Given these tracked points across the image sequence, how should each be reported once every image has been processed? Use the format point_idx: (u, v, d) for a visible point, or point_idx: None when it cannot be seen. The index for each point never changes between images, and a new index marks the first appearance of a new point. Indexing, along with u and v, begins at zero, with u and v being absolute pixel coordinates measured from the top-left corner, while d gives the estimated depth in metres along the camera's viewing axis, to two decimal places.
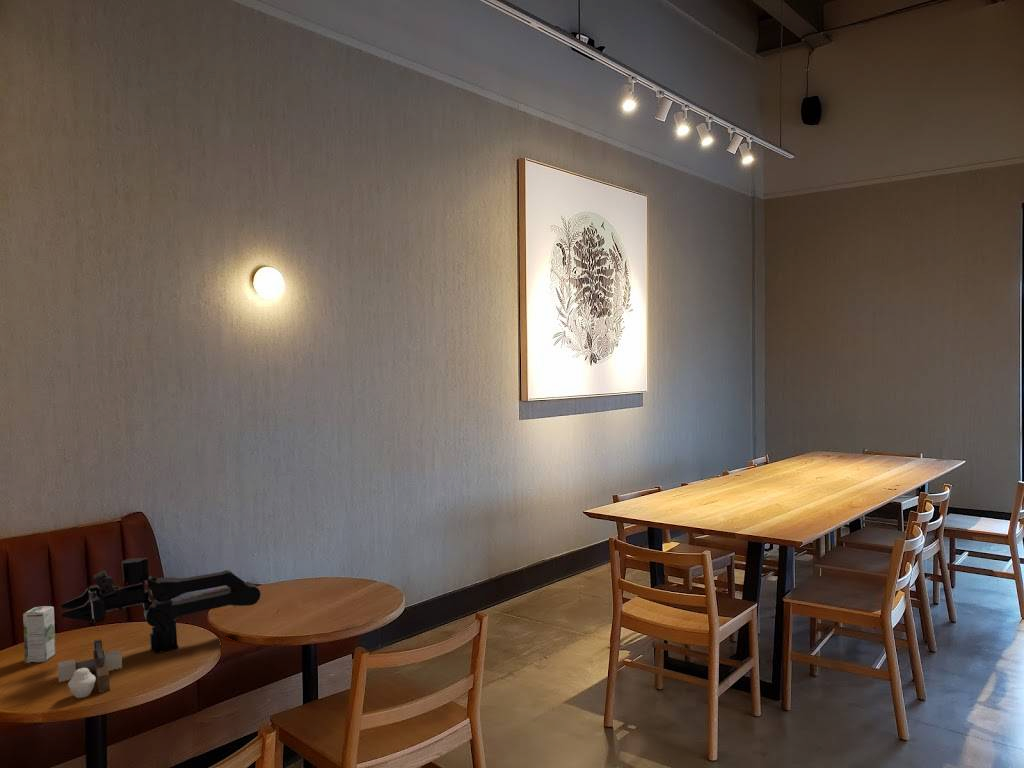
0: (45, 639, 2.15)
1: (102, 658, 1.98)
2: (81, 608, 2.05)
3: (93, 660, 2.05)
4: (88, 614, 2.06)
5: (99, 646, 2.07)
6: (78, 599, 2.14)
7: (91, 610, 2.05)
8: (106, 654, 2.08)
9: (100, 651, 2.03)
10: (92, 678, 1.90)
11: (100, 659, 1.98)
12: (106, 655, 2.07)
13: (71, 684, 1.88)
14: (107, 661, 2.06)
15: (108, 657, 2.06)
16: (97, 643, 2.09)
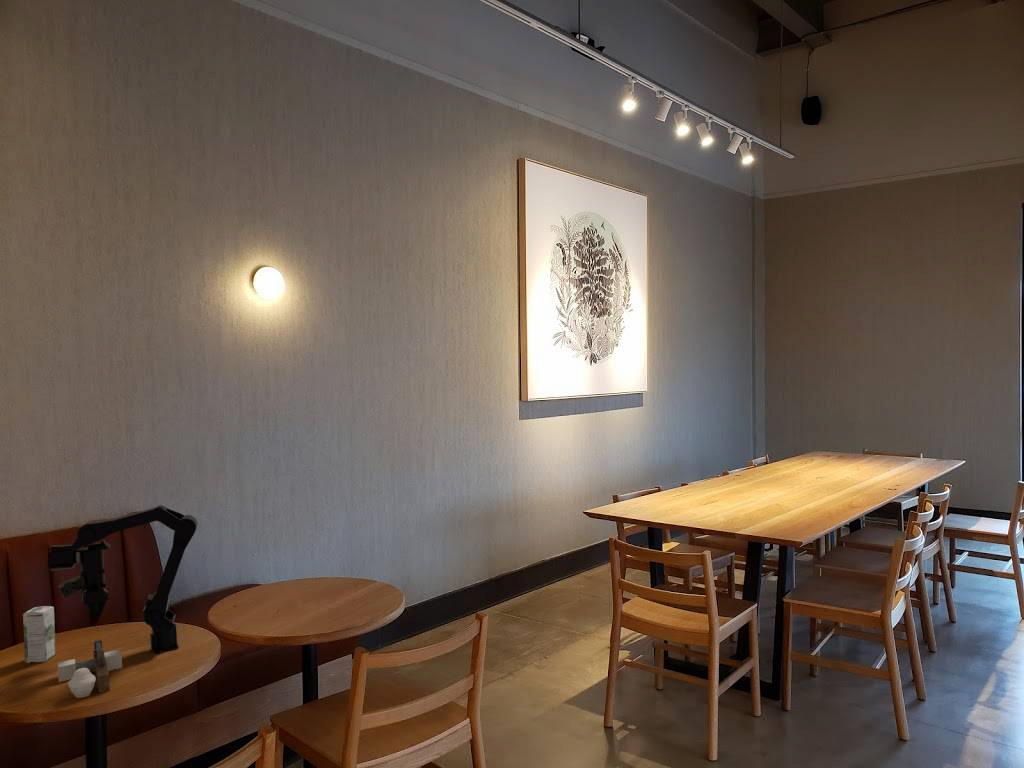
0: (45, 639, 2.15)
1: (102, 658, 1.98)
2: (91, 608, 2.11)
3: (93, 660, 2.05)
4: None
5: (99, 646, 2.07)
6: None
7: None
8: (106, 654, 2.08)
9: (100, 651, 2.03)
10: (92, 678, 1.90)
11: (100, 659, 1.98)
12: (106, 655, 2.07)
13: (71, 684, 1.88)
14: (107, 661, 2.06)
15: (108, 657, 2.06)
16: (97, 643, 2.09)
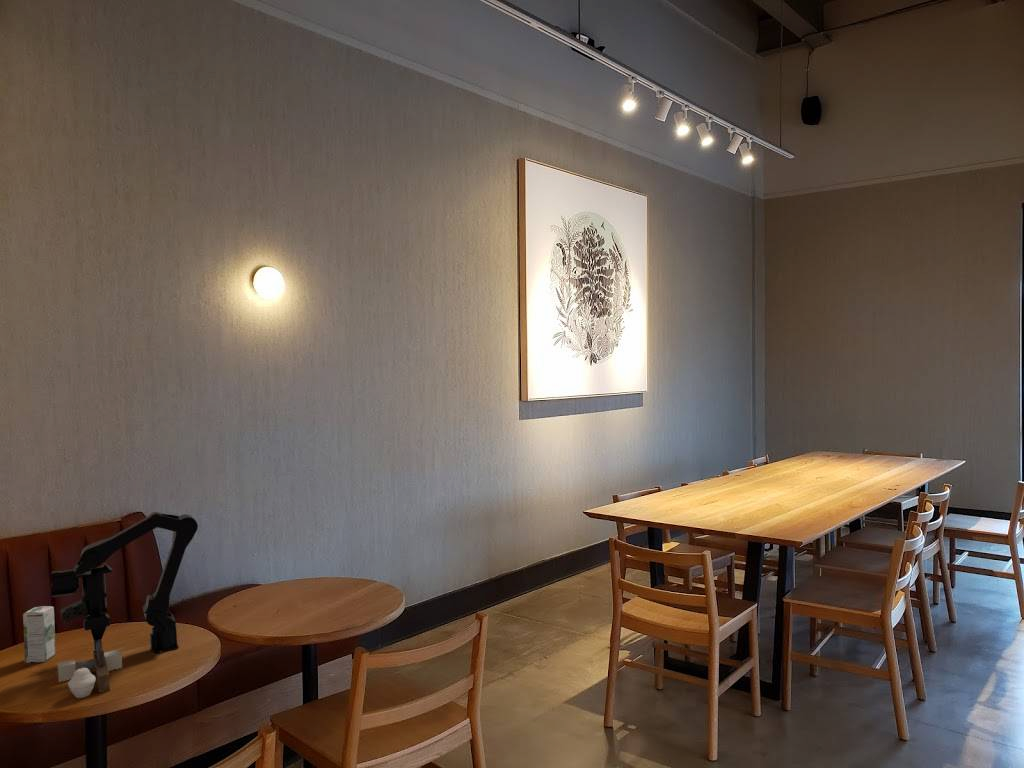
0: (45, 639, 2.15)
1: (102, 658, 1.98)
2: (92, 631, 2.11)
3: (93, 660, 2.05)
4: None
5: (99, 646, 2.07)
6: None
7: None
8: (106, 654, 2.08)
9: (100, 651, 2.03)
10: (92, 678, 1.90)
11: (100, 659, 1.98)
12: (106, 655, 2.07)
13: (71, 684, 1.88)
14: (107, 661, 2.06)
15: (108, 657, 2.06)
16: (97, 643, 2.09)
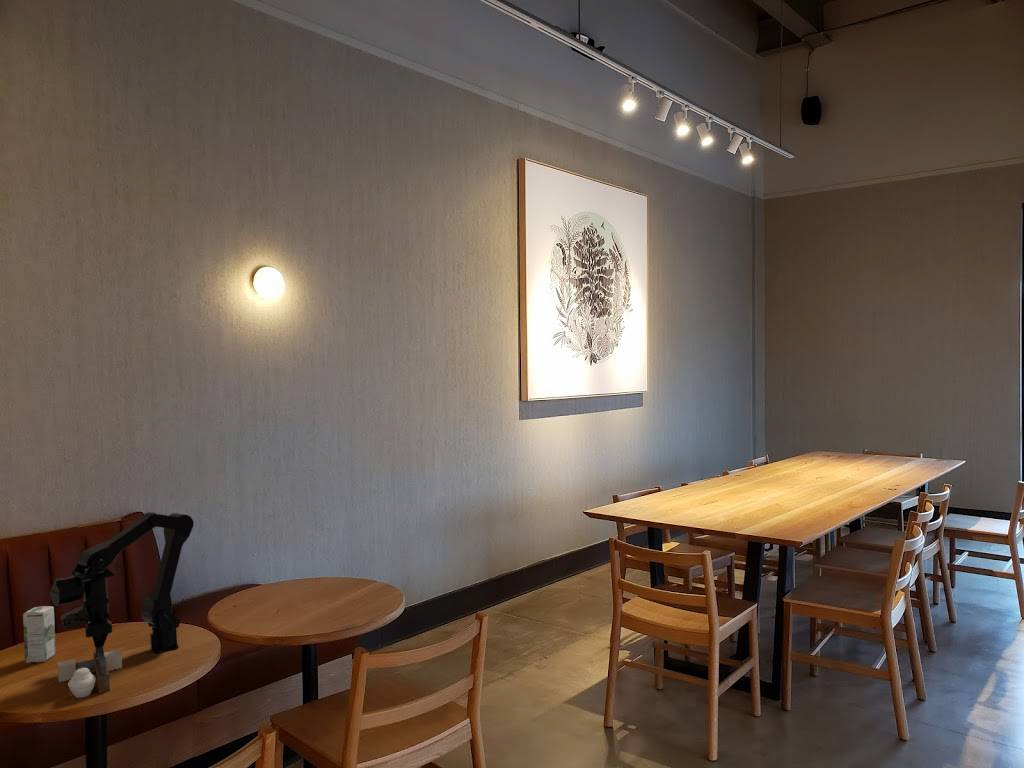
0: (45, 639, 2.15)
1: (104, 666, 1.92)
2: (94, 637, 2.05)
3: (93, 660, 2.05)
4: None
5: (101, 654, 2.01)
6: None
7: None
8: (106, 654, 2.08)
9: (102, 659, 1.97)
10: (92, 678, 1.90)
11: (102, 667, 1.92)
12: (106, 655, 2.07)
13: (72, 684, 1.88)
14: (107, 661, 2.06)
15: (108, 657, 2.06)
16: (99, 650, 2.03)
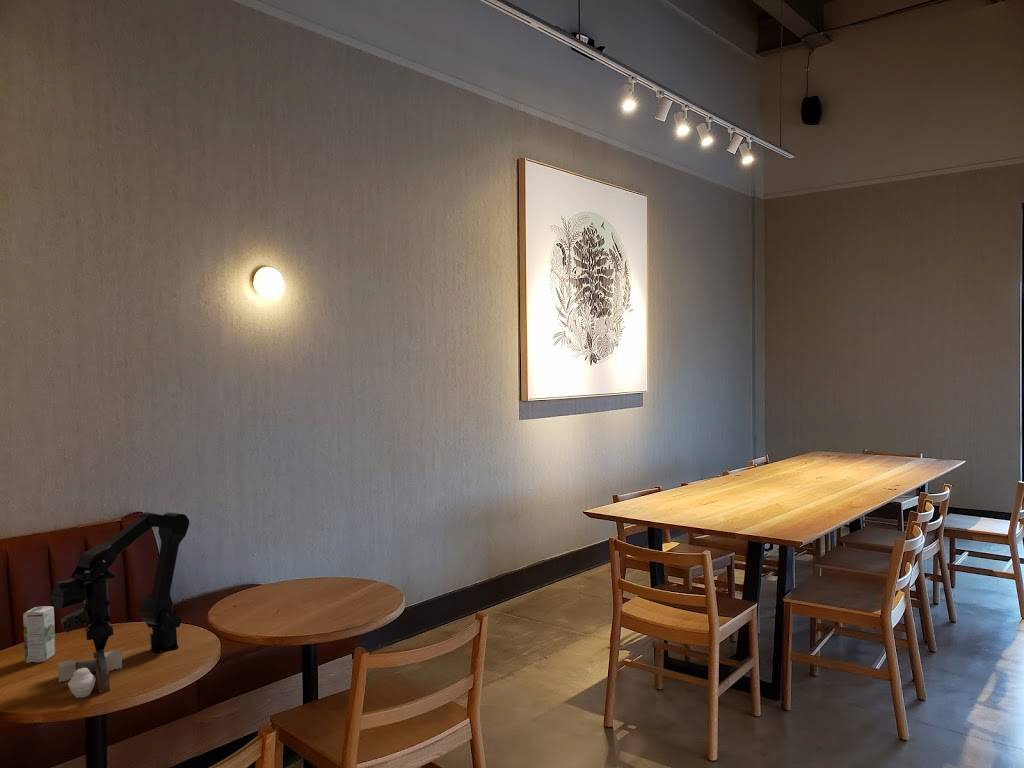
0: (45, 639, 2.15)
1: (105, 670, 1.90)
2: (94, 640, 2.03)
3: (93, 660, 2.05)
4: None
5: (101, 657, 1.99)
6: None
7: None
8: (106, 654, 2.08)
9: (102, 662, 1.95)
10: (92, 678, 1.90)
11: (103, 671, 1.90)
12: (106, 655, 2.07)
13: (71, 684, 1.88)
14: (107, 661, 2.06)
15: (108, 657, 2.06)
16: (99, 653, 2.01)
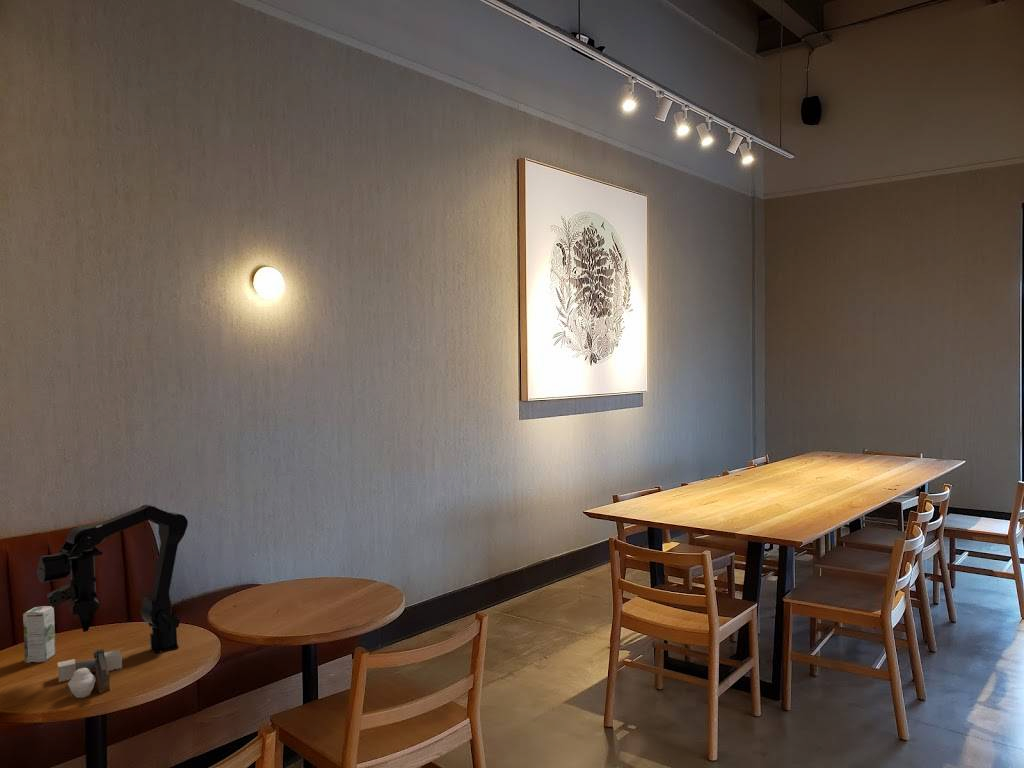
0: (45, 639, 2.15)
1: (105, 670, 1.90)
2: (80, 616, 2.03)
3: (93, 660, 2.05)
4: None
5: (101, 657, 1.99)
6: None
7: None
8: (106, 654, 2.08)
9: (102, 662, 1.95)
10: (92, 678, 1.90)
11: (103, 671, 1.90)
12: (106, 655, 2.07)
13: (72, 684, 1.88)
14: (107, 661, 2.06)
15: (108, 657, 2.06)
16: (99, 653, 2.01)
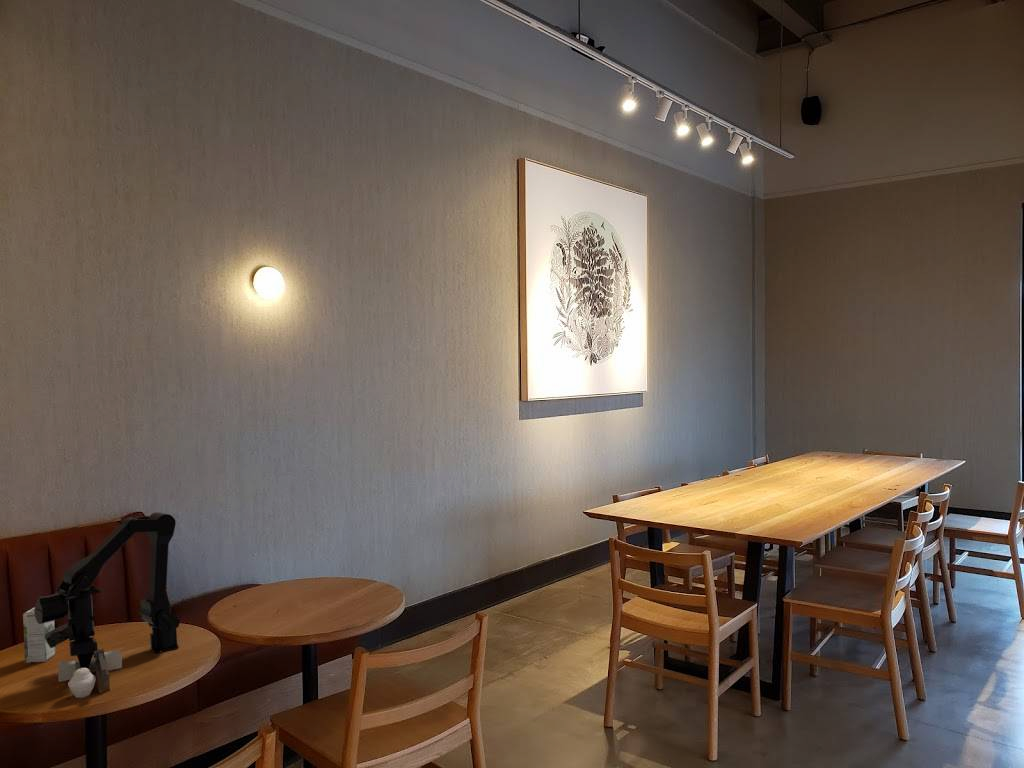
0: (45, 639, 2.15)
1: (105, 670, 1.90)
2: (79, 657, 2.01)
3: (93, 660, 2.05)
4: None
5: (101, 657, 1.99)
6: None
7: None
8: (106, 654, 2.08)
9: (102, 662, 1.95)
10: (92, 678, 1.90)
11: (103, 671, 1.90)
12: (106, 655, 2.07)
13: (72, 684, 1.88)
14: (107, 661, 2.06)
15: (108, 657, 2.06)
16: (99, 653, 2.01)
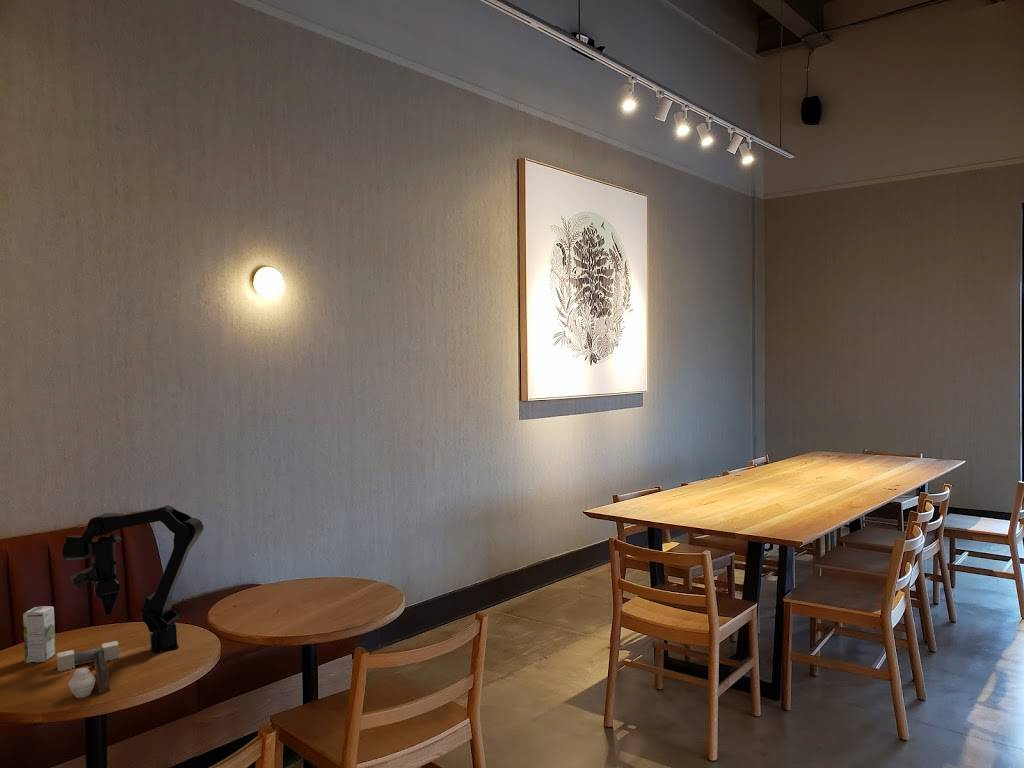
0: (45, 639, 2.15)
1: (105, 670, 1.90)
2: (103, 600, 2.15)
3: (91, 651, 2.12)
4: None
5: (101, 657, 1.99)
6: None
7: (105, 593, 2.14)
8: (104, 645, 2.15)
9: (102, 662, 1.95)
10: (92, 678, 1.90)
11: (103, 671, 1.90)
12: (104, 646, 2.14)
13: (72, 684, 1.88)
14: (105, 652, 2.13)
15: (106, 648, 2.13)
16: (99, 653, 2.01)
